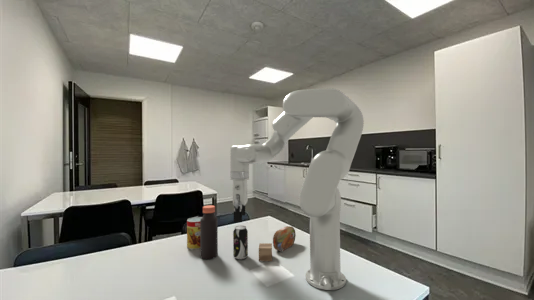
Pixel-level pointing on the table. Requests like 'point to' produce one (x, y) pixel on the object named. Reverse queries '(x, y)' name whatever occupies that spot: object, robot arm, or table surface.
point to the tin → (284, 238)
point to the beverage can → (240, 242)
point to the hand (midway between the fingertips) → (239, 218)
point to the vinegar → (209, 233)
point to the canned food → (193, 233)
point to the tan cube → (265, 252)
